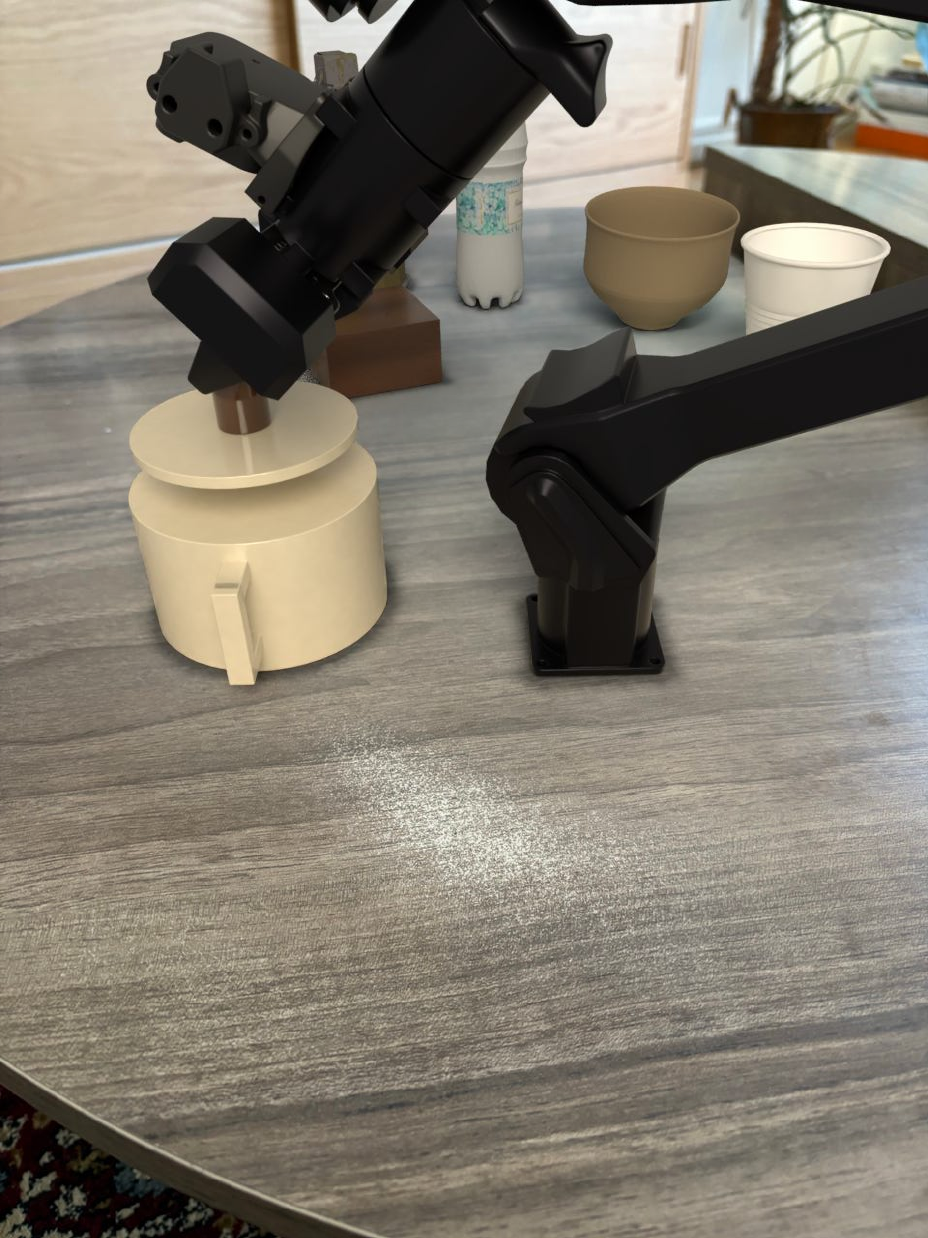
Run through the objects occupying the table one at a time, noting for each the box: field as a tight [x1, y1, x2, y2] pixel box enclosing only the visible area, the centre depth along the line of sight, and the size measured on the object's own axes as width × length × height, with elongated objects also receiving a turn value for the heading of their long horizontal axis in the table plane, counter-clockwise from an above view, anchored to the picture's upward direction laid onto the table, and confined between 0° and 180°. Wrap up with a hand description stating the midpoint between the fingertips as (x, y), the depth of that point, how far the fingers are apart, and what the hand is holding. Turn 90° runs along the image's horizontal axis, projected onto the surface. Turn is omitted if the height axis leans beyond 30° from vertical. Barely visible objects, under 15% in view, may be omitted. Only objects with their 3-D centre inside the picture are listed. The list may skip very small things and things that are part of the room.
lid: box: [128, 380, 360, 489], centre depth 47 cm, size 11×11×7 cm
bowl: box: [582, 185, 741, 331], centre depth 84 cm, size 13×13×10 cm
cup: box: [740, 222, 892, 336], centre depth 72 cm, size 10×10×11 cm
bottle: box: [455, 121, 529, 310], centre depth 87 cm, size 7×7×20 cm
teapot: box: [127, 441, 388, 686], centre depth 53 cm, size 20×12×8 cm, turn 0°
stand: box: [308, 285, 443, 399], centre depth 79 cm, size 9×9×5 cm
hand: (210, 373), depth 47 cm, fingers closed on lid, 3 cm apart
